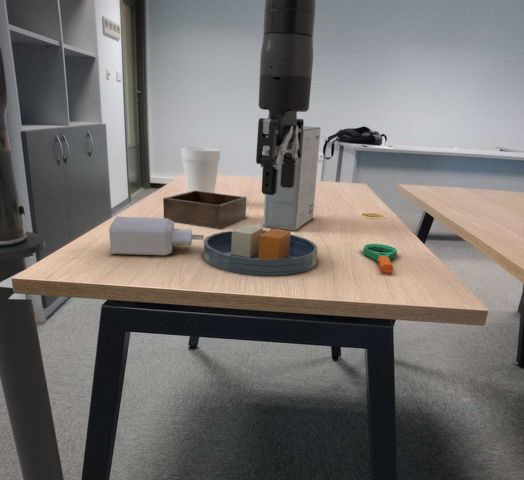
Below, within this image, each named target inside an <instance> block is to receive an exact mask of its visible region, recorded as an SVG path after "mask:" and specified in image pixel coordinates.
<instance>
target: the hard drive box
mask: <svg viewBox="0 0 524 480" xmlns="http://www.w3.org/2000/svg"><path fill="white" fill-rule="evenodd" d="M320 141H321V127H320V126H309V125H303V139H302V156H301V158H300V159H298V162H297V164H296V166H295V179H294V186H293V187H292V188H285V187H281V185H280V182H281V167H282V163H283V162H282V159H281V158H280V162H279V165H278V168H277V169H278V178H277V192H276V194H274V195H267V194H264V199H263V200H264V201H263V202H264V203H263V205H264V206H263V222H262V225H263V228H269V229H277V230H284V231H295V232H296V231H297V230H298V229H300V228H301V227H302V226H303V225H305V224H306V223H308V222H309V221H310V220H311V219H313V217H314V211H315V210H314V209H315V198H316V189H317V188H316V185H317V176H318V175H317V174H318V163H319V150H320ZM292 144H293V142H292Z"/></svg>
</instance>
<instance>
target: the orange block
mask: <svg viewBox="0 0 524 480" xmlns="http://www.w3.org/2000/svg"><path fill="white" fill-rule="evenodd" d="M266 231H267V232H265V233H263V234H261V235H260V240H259V257H258V259H283V258H285V257H286V256H287V255H289V245H290V234H291V233H292V232H291V230H284V229H278V228H269V230H266Z"/></svg>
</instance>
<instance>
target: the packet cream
mask: <svg viewBox="0 0 524 480" xmlns="http://www.w3.org/2000/svg"><path fill="white" fill-rule="evenodd" d="M231 231H232V245H231V254H232V255H238V256H244V257H251V256H253V255H255V254H256V253H258V252H259V240H260V235H261V234H263V231H264V226H263V227H262V226H255V225H248V224H243V225H242V226H239V227H237V228H235V229H233V230H231Z"/></svg>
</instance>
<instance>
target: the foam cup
mask: <svg viewBox="0 0 524 480" xmlns="http://www.w3.org/2000/svg"><path fill="white" fill-rule="evenodd" d="M180 153H181V156H180V157H181V160H182V166H183V173H184V180H185V188H186V192H190V191H202V192H210V193H216V185H217V177H218V169H219V162H220V160H221V159H220V158H221V150H220V149H218V148H211V147H199V146H198V147H197V146H184V147H181V150H180Z"/></svg>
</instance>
